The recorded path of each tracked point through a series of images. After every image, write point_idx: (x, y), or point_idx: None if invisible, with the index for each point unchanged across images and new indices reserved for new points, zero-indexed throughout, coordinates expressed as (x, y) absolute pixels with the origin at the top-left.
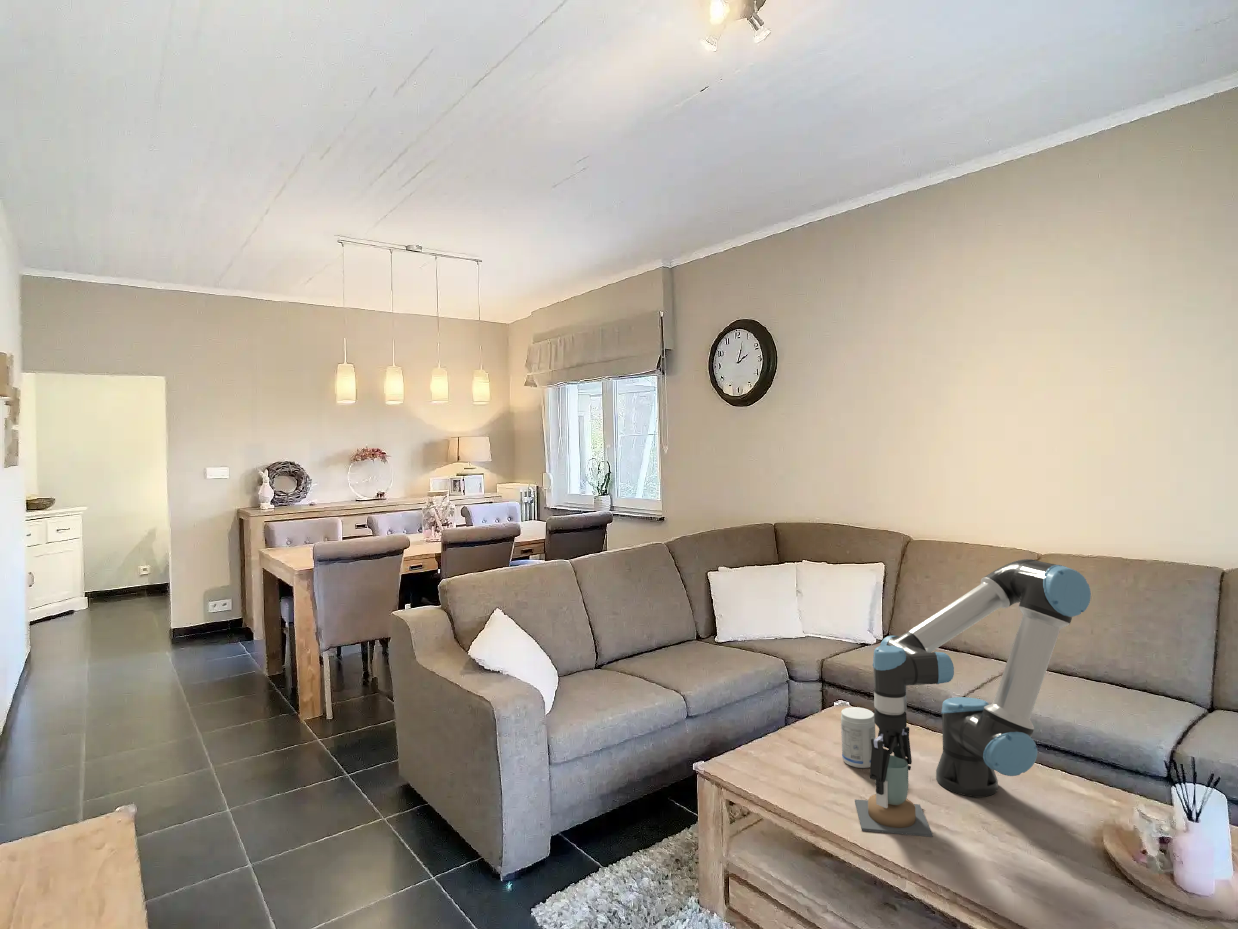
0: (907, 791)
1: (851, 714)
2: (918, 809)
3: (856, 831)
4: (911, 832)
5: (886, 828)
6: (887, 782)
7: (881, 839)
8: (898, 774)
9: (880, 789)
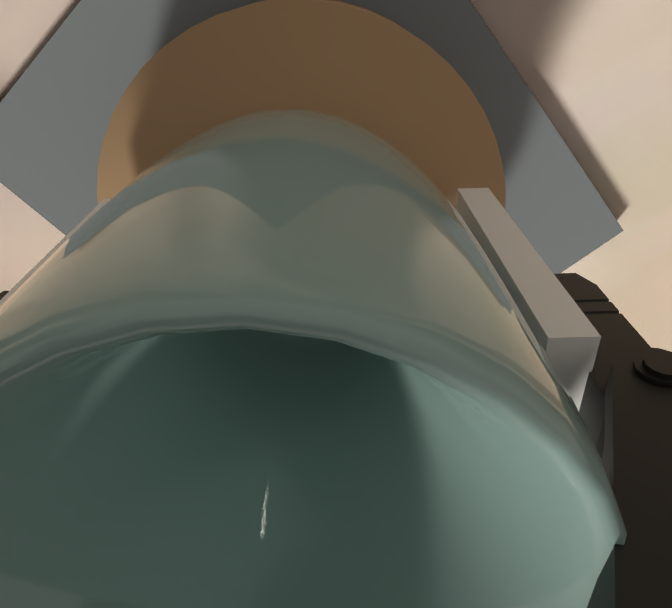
0: (231, 120)
1: None
2: (33, 114)
3: (643, 241)
4: None
5: (506, 114)
6: (542, 327)
7: (643, 65)
8: (468, 285)
9: (614, 317)
